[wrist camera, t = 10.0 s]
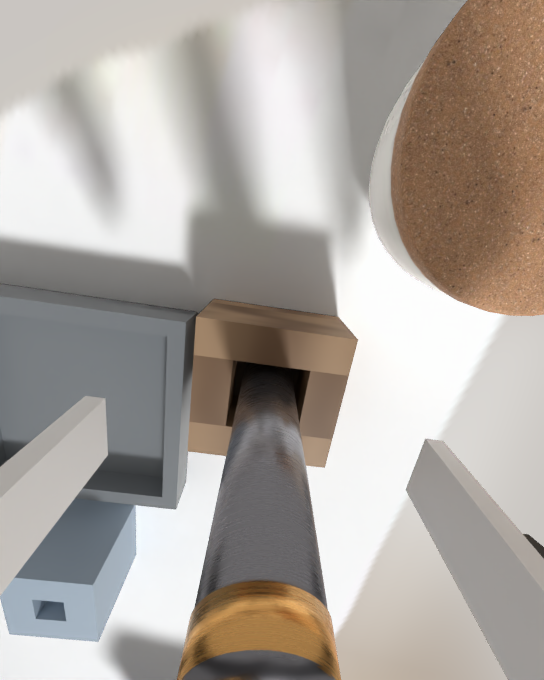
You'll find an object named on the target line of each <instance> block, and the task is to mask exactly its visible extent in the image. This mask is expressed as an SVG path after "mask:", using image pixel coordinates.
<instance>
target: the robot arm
mask: <svg viewBox="0 0 544 680" xmlns="http://www.w3.org/2000/svg"><path fill="white" fill-rule="evenodd" d="M107 456H108V444H107V423H106V401H105V398H99V397H91V396H85V397H83V398H82V399H81V400H80V401H79V402H77V403H76V404H75V405H74V406H73V407H71V408H70V409H69V410H68V411H67V412H65V413H64V414H63V415H62V416H61V417H59V418H58V419H57V420H56V421H55V422H53V423H52V424H51V425H50V426H49V427H47V428H46V429H45V430H44V431H43V432H42V433H40V434H39V435H38V436H37V437H36V438H34V439H33V440H32V441H31V442H30V443H28V444H27V445H26V446H25V447H24V448H22V449H21V450H20V451H19V452H18V453H16V454H15V455H14V456H13V457H12V458H10V459H9V460H8V461H7V462H6V463H4V464H3V465H2V466H1V467H0V596H1V594H2V593H3V592H4V590H5V589H6V588H7V587H8V585H9V584H10V583H11V581H12V580H13V579H14V577H15V576H16V575H17V573H18V572H19V571H20V569H21V568H22V567H23V566H24V564H25V563H26V562H27V560H28V559H29V558H30V556H31V555H32V554H33V552H34V551H35V550H36V549H37V547H38V546H39V545H40V543H41V542H42V541H43V539H44V538H45V537H46V535H47V534H48V533H49V532H50V530H51V529H52V528H53V526H54V525H55V524H56V522H57V521H58V520H59V518H60V517H61V516H62V514H63V513H64V512H65V511H66V509H67V508H68V507H69V505H70V504H71V503H72V501H73V500H74V499H75V497H76V496H77V495H78V494H79V492H80V491H81V490H82V488H83V487H84V486H85V484H86V483H87V482H88V480H89V479H90V478H91V476H92V475H93V474H94V473H95V471H96V470H97V469H98V467H99V466H100V465H101V463H102V462H103V461H104V459H105V458H106V457H107ZM406 491H407V493H408V495H409V497H410V499H411V500H412V502H413V504H414V506H415V508H416V510H417V511H418V513H419V515H420V517H421V519H422V521H423V523H424V525H425V526H426V528H427V530H428V532H429V534H430V536H431V537H432V539H433V541H434V543H435V545H436V547H437V549H438V551H439V553H440V554H441V556H442V558H443V560H444V562H445V564H446V565H447V567H448V569H449V571H450V573H451V575H452V576H453V579H454V580H455V582H456V584H457V586H458V588H459V590H460V591H461V593H462V595H463V597H464V599H465V601H466V603H467V604H468V606H469V608H470V610H471V612H472V614H473V616H474V618H475V619H476V621H477V623H478V625H479V627H480V629H481V631H482V632H483V634H484V636H485V638H486V640H487V642H488V644H489V646H490V647H491V649H492V651H493V653H494V655H495V657H496V658H497V660H498V662H499V664H500V666H501V668H502V670H503V672H504V673H505V675H506V677H507V679H508V680H544V547H543V546H542V545H540V544H539V543H538V542H537V541H536V540H534V539H533V538H532V537H531V536H530V535H527V534H522V533H521V532H520V530H519V529H518V528H517V527H516V526H515V525H514V523H513V522H512V521H511V520H510V519H509V518H508V516H507V515H506V514H505V513H504V512H503V510H502V509H501V508H500V507H499V506H498V505H497V504H496V502H495V501H494V500H493V499H492V498H491V496H490V495H489V494H488V493H487V492H486V491H485V489H484V488H483V487H482V486H481V485H480V484H479V482H478V481H477V480H476V479H475V478H474V477H473V475H472V474H471V473H470V472H469V471H468V470H467V468H466V467H465V466H464V465H463V464H462V462H461V461H460V460H459V459H458V458H457V457H456V455H455V454H454V453H453V452H452V451H451V450H450V448H449V447H448V446H447V445H446V444H445V443H444V442H443V441H439V440H431V439H425V441H424V444H423V447H422V449H421V452H420V454H419V457H418V459H417V462H416V465H415V467H414V470H413V472H412V475H411V477H410V480H409V483H408V485H407V488H406Z"/></svg>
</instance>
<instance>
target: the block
mask: <svg viewBox="0 0 544 680" xmlns="http://www.w3.org/2000/svg"><path fill="white" fill-rule="evenodd" d="M135 556H136V512H135V505H130V504H121V503H112V502H103V501H94V500H85V499H74V500H73V501H72V503H71V504H70V505H69V507H68V508H67V509H66V511H65V512H64V513H63V514H62V516H61V517H60V518H59V520H58V521H57V522H56V524H55V525H54V526H53V528H52V529H51V530H50V532H49V533H48V534H47V535H46V537H45V538H44V539H43V541H42V542H41V543H40V545H39V546H38V547H37V549H36V550H35V551H34V552H33V554H32V555H31V556H30V558H29V559H28V560H27V562H26V563H25V564H24V566H23V567H22V568H21V569H20V571H19V572H18V573H17V575H16V576H15V577H14V579H13V580H12V581H11V583H10V584H9V585H8V587H7V588H6V589H5V590H4V592H3V593H2V594H1V596H0V599H1V603H2V607H3V611H4V615H5V618H6V622H7V626H8V630H9V634H12V635H24V636H36V637H48V638H60V639H72V640H83V641H95V642H98V641H99V639H100V637H101V634H102V632H103V630H104V627H105V625H106V623H107V620H108V618H109V616H110V614H111V611H112V609H113V607H114V604H115V602H116V600H117V597H118V595H119V593H120V590H121V588H122V586H123V584H124V581H125V579H126V577H127V574H128V572H129V570H130V567H131V565H132V563H133V560H134V558H135Z"/></svg>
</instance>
